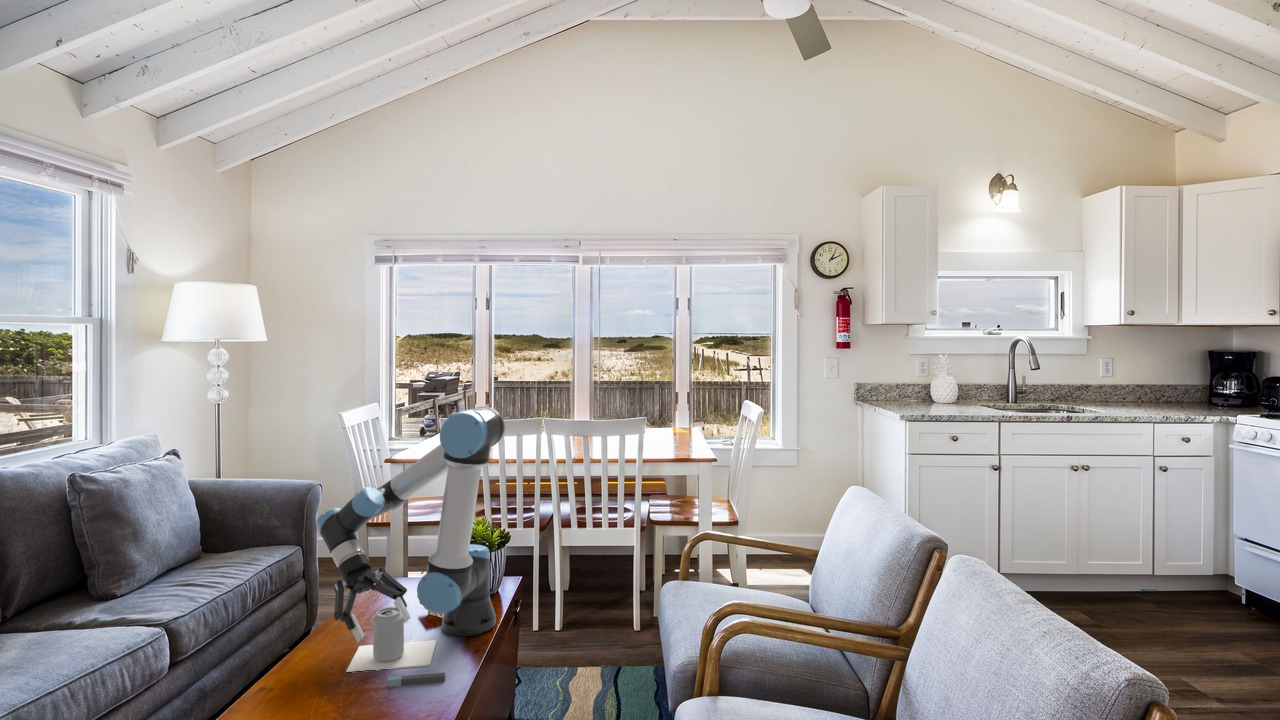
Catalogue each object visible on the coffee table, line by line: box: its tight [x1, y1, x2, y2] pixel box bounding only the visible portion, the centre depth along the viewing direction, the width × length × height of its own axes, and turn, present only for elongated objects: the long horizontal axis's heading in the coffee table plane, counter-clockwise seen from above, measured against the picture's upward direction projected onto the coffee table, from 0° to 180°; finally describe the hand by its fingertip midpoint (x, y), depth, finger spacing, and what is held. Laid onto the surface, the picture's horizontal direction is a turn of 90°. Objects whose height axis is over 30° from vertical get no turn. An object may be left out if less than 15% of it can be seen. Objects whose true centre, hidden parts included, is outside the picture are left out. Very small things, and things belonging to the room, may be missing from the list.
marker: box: [387, 672, 446, 688], centre depth 159 cm, size 13×2×2 cm, turn 100°
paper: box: [345, 639, 438, 673], centre depth 172 cm, size 20×14×1 cm
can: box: [372, 606, 405, 662], centre depth 171 cm, size 8×8×12 cm
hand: (385, 629), depth 172 cm, fingers open, 13 cm apart
